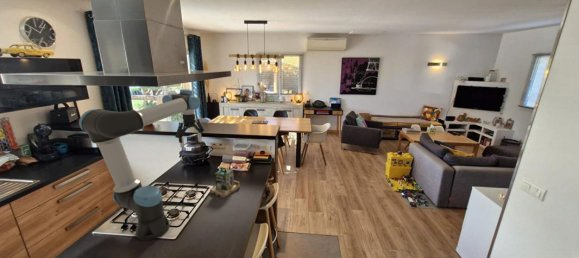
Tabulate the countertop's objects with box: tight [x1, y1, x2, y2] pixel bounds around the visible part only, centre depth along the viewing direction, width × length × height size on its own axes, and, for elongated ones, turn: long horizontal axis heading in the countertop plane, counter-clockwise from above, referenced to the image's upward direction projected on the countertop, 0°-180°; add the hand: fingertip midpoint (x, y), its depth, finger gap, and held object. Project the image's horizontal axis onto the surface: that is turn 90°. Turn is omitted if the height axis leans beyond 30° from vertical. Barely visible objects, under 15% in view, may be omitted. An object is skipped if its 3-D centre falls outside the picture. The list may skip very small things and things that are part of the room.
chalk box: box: [214, 166, 235, 191], centre depth 156 cm, size 9×9×15 cm
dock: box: [209, 179, 241, 199], centre depth 159 cm, size 16×12×5 cm
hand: (191, 144), depth 153 cm, fingers open, 13 cm apart
